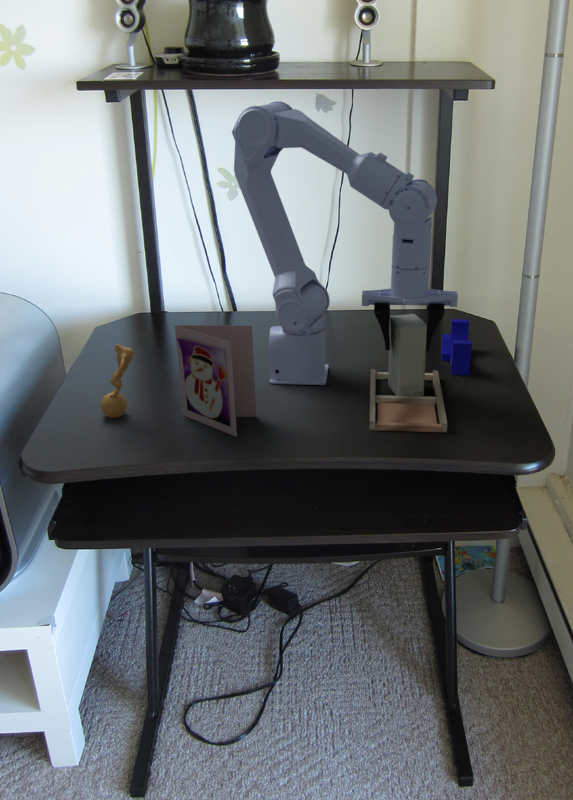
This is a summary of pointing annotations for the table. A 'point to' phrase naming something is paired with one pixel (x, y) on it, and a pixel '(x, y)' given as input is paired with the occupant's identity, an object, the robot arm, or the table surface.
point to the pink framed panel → (407, 409)
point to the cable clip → (457, 347)
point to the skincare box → (407, 355)
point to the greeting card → (216, 374)
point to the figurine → (117, 385)
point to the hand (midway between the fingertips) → (406, 348)
